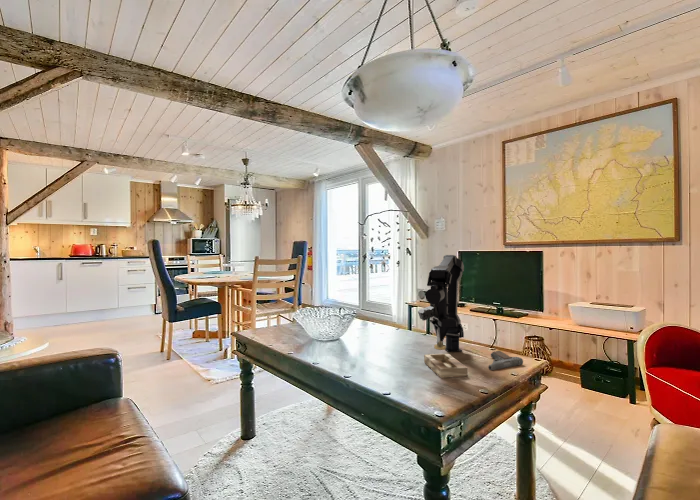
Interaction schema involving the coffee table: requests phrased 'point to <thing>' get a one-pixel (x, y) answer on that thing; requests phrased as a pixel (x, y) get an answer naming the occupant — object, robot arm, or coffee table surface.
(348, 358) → the coffee table surface
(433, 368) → the keyhole board
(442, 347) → the peg
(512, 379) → the coffee table surface
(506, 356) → the handgun
